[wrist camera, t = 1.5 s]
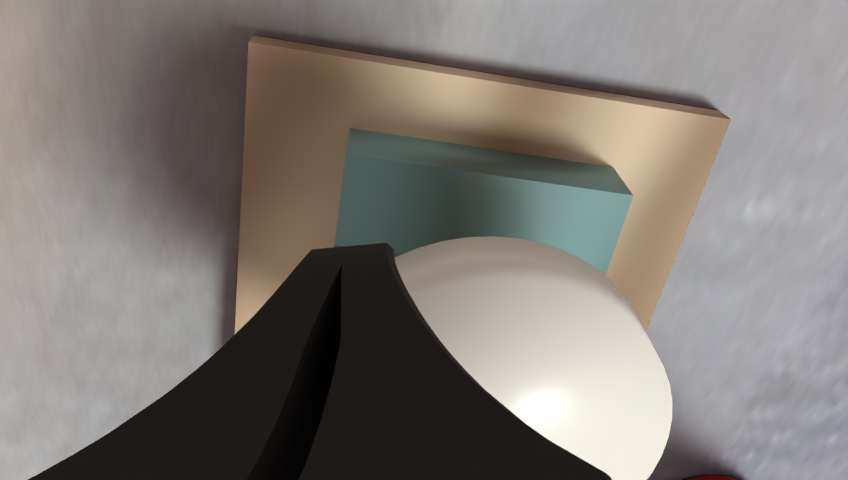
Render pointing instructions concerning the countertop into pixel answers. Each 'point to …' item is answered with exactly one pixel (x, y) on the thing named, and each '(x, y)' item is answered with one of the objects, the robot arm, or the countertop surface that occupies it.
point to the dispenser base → (454, 111)
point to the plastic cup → (712, 478)
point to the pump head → (548, 345)
